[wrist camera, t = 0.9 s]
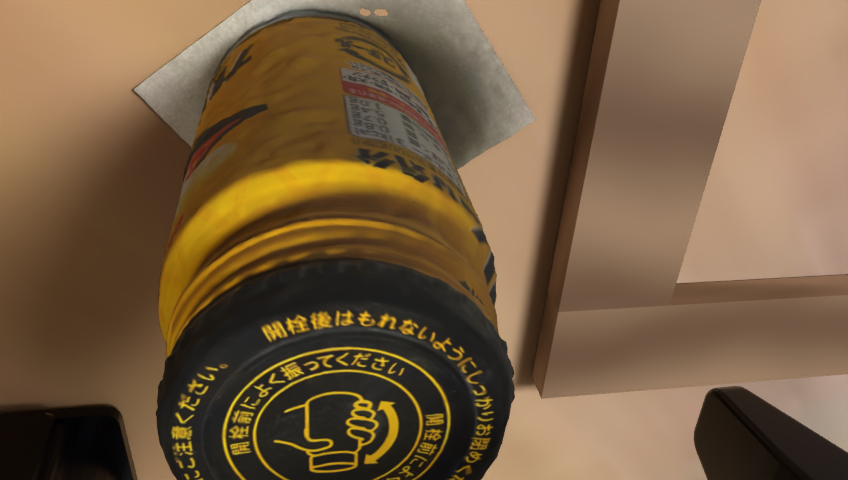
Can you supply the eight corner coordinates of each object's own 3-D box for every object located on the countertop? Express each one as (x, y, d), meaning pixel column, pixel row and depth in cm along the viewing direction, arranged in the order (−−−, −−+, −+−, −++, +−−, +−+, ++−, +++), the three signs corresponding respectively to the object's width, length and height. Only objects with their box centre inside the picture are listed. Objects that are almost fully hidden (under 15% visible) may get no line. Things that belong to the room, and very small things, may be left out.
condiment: (134, 86, 19) (-36, 428, 9) (397, -111, 17) (546, 38, 7) (305, 263, 23) (320, 639, 13) (533, 115, 21) (751, 411, 11)
